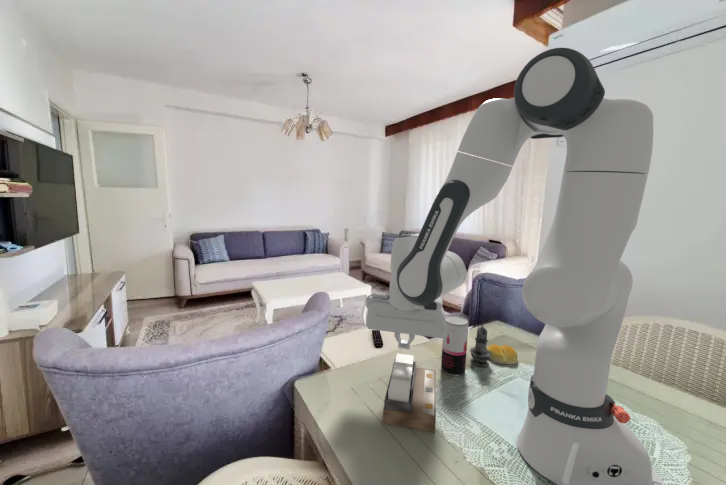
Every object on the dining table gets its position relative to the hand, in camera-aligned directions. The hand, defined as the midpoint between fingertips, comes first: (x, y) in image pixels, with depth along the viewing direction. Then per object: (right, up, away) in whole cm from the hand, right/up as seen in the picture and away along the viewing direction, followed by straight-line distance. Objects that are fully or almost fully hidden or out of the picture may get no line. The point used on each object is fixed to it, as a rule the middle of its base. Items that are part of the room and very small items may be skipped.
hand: (404, 348), depth 80 cm
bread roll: (+32, -9, +15) cm, 37 cm away
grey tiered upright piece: (+24, -9, +12) cm, 28 cm away
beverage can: (+15, -9, +8) cm, 19 cm away
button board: (+1, -11, -5) cm, 12 cm away
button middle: (-1, -6, -5) cm, 8 cm away
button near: (-3, -7, -11) cm, 13 cm away
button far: (0, -5, +1) cm, 5 cm away
